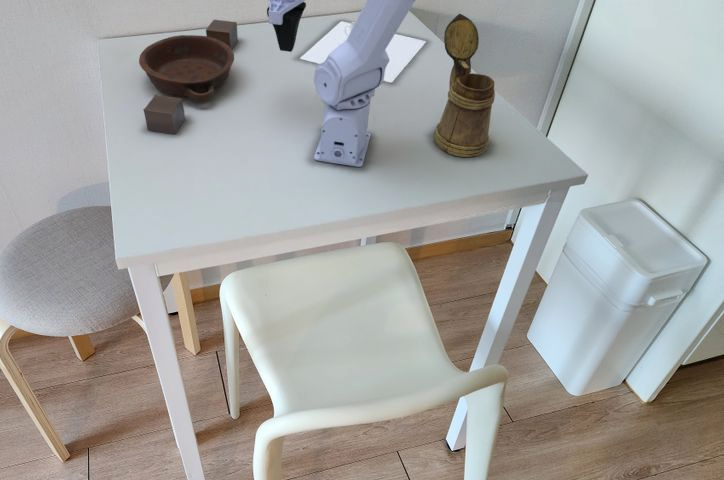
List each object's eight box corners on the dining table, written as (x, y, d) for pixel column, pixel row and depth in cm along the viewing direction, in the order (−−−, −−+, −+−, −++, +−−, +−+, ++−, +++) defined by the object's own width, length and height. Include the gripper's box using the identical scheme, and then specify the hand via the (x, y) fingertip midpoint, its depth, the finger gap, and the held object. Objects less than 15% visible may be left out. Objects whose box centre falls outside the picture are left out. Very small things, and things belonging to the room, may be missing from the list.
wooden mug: (460, 110, 107) (484, 9, 93) (497, 153, 98) (530, 48, 85) (414, 117, 105) (433, 15, 92) (448, 161, 96) (474, 55, 83)
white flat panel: (384, 41, 125) (387, 21, 122) (370, 56, 120) (372, 36, 117) (347, 31, 127) (348, 12, 124) (331, 46, 123) (332, 27, 120)
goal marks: (174, 134, 100) (171, 113, 97) (147, 130, 101) (143, 109, 98) (238, 41, 124) (236, 22, 121) (215, 38, 125) (213, 19, 122)
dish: (155, 118, 104) (150, 92, 100) (134, 61, 117) (129, 36, 114) (250, 101, 108) (248, 76, 104) (219, 48, 122) (217, 24, 118)
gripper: (273, -56, 95) (274, 28, 105) (247, -23, 85) (251, 66, 95) (316, -52, 94) (313, 32, 104) (294, -18, 84) (294, 71, 94)
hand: (286, 49), depth 100 cm, fingers closed
